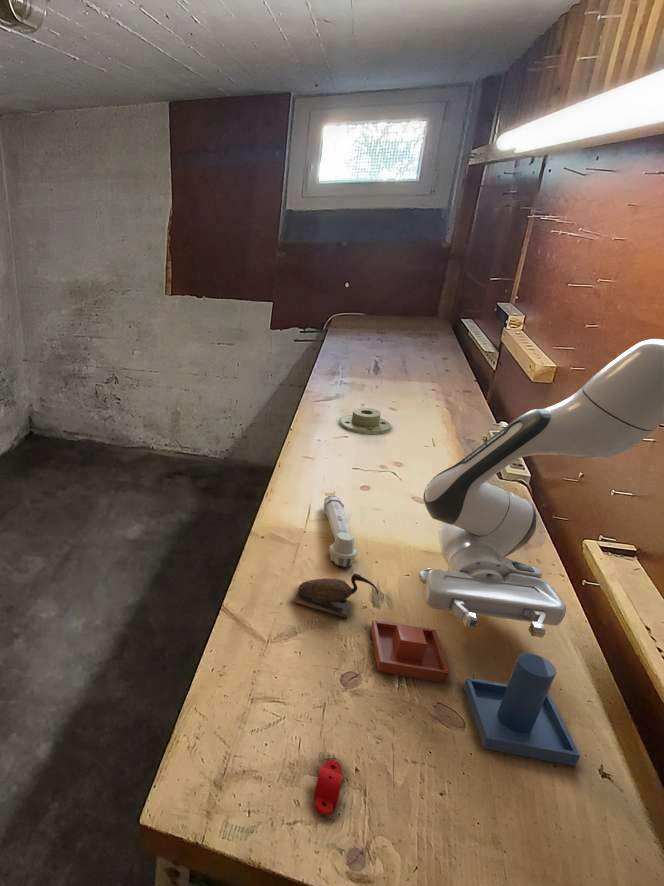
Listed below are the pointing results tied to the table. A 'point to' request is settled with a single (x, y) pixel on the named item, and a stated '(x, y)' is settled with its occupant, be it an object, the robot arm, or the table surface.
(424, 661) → the terracotta tray
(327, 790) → the pipe clamp
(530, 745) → the blue tray
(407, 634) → the terracotta block
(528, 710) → the blue canister
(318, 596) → the figurine
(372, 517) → the table surface
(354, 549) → the light grey long piece
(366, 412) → the flange
